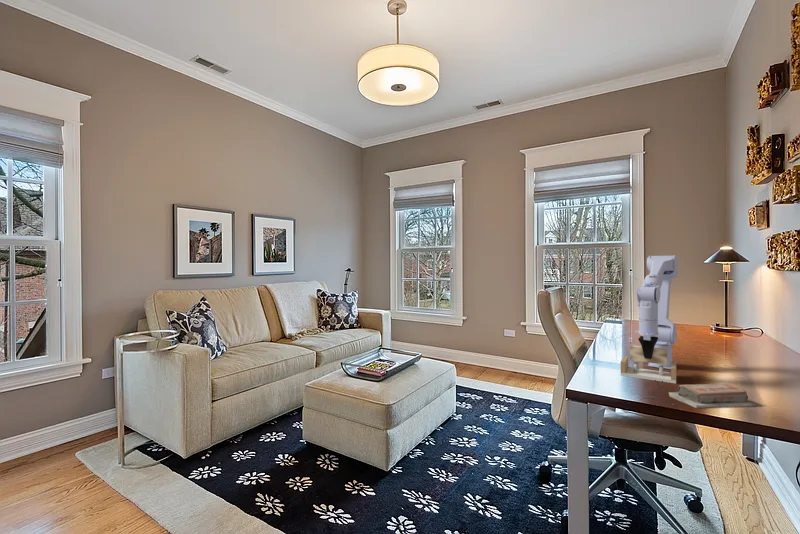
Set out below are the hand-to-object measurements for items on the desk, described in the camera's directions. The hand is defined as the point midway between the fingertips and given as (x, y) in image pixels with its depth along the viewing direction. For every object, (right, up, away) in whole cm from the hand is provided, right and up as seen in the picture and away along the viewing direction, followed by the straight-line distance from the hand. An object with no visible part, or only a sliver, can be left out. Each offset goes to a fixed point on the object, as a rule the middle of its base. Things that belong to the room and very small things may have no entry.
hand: (648, 357), depth 137 cm
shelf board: (0, -1, 0) cm, 1 cm away
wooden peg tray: (0, -7, 0) cm, 7 cm away
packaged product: (+1, -7, -26) cm, 27 cm away
